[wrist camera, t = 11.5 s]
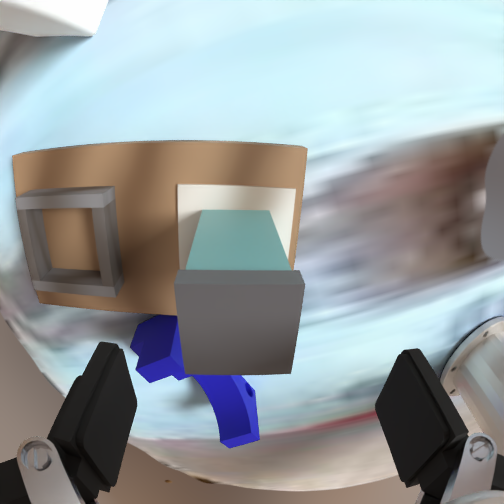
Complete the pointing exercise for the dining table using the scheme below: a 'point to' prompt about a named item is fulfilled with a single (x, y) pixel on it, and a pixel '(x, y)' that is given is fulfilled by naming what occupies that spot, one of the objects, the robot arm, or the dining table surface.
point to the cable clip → (215, 386)
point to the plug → (238, 297)
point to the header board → (141, 213)
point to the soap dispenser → (51, 17)
